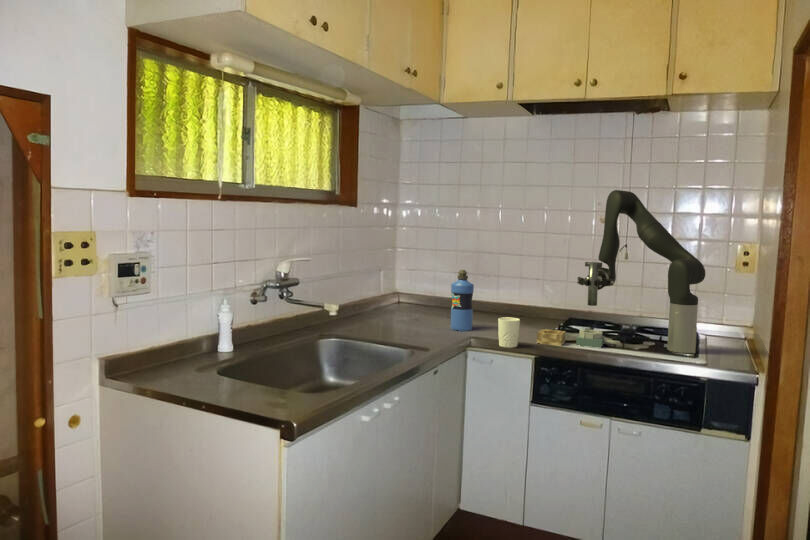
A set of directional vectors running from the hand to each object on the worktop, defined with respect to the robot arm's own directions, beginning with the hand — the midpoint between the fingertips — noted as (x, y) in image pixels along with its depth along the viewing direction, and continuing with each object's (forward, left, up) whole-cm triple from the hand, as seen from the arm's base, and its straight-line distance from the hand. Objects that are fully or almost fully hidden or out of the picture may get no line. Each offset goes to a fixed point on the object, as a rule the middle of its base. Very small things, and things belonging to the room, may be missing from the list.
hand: (592, 283), depth 223 cm
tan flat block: (+14, 0, -23) cm, 27 cm away
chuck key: (0, -3, -8) cm, 9 cm away
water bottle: (+53, -9, -24) cm, 59 cm away
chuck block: (-3, -3, -23) cm, 24 cm away
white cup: (+27, +14, -24) cm, 39 cm away
